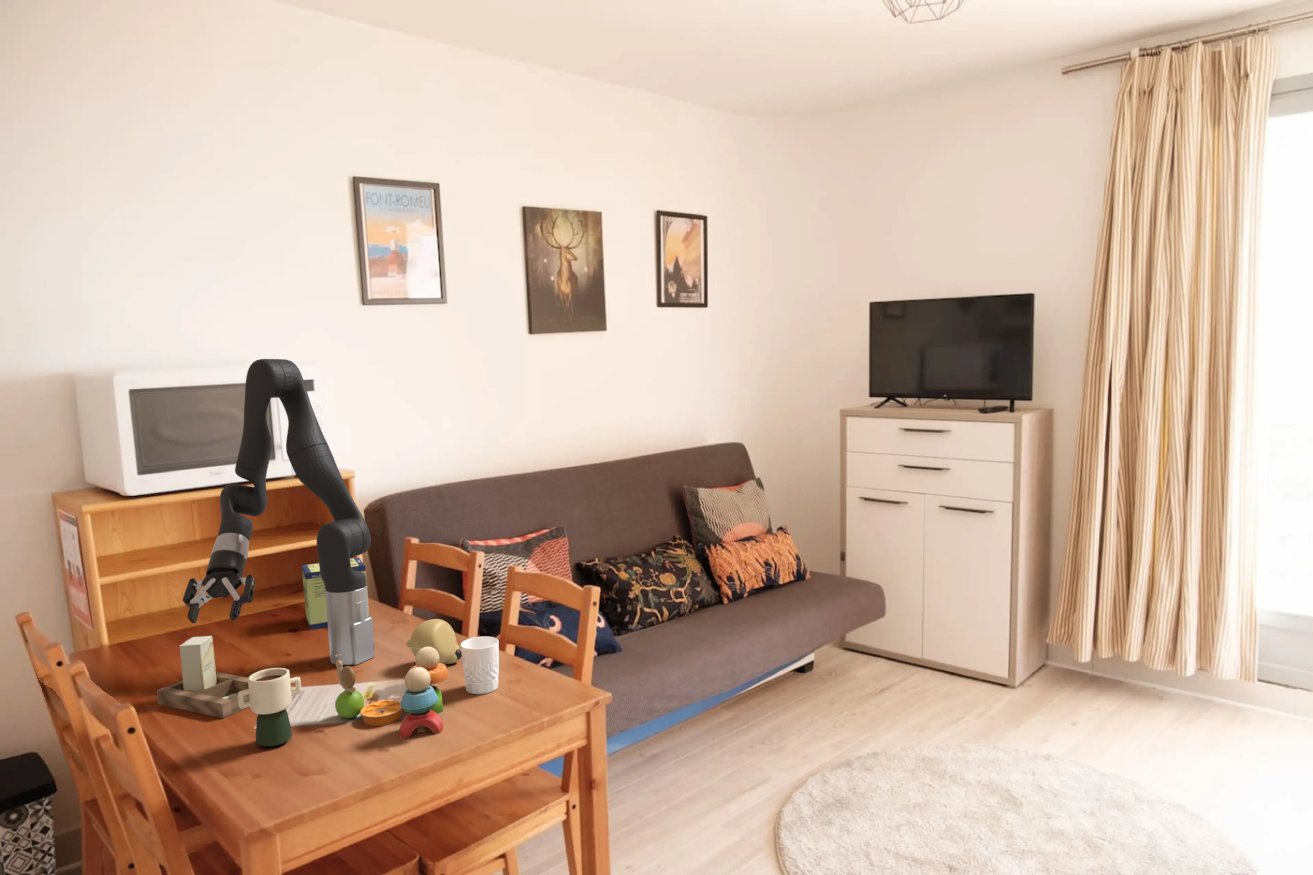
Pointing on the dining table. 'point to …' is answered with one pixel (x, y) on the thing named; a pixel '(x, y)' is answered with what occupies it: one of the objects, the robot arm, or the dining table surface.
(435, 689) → the wooden stacking toy
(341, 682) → the snail figurine
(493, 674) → the white cup
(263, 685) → the character mug
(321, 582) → the protein box
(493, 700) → the dining table surface
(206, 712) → the wooden compartment tray
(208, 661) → the skincare box
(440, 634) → the beige animal figurine
